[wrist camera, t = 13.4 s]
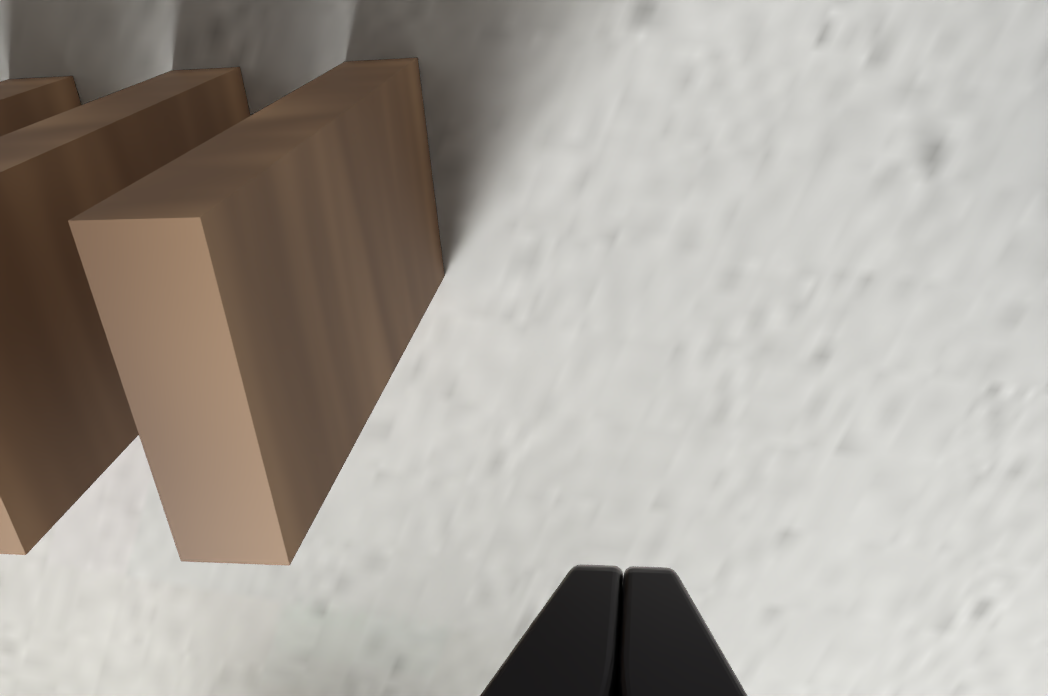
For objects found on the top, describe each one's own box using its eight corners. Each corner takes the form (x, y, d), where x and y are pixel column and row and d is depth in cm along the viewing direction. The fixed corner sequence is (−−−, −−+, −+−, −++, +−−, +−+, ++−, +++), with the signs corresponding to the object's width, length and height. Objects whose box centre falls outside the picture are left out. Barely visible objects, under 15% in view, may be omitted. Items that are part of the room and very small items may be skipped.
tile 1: (417, 57, 18) (200, 217, 10) (444, 275, 21) (289, 565, 12) (344, 61, 18) (68, 220, 10) (379, 276, 21) (180, 561, 12)
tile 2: (239, 66, 19) (-119, 224, 10) (285, 278, 21) (26, 554, 12) (171, 70, 19) (-237, 227, 10) (223, 278, 21) (-73, 550, 13)
